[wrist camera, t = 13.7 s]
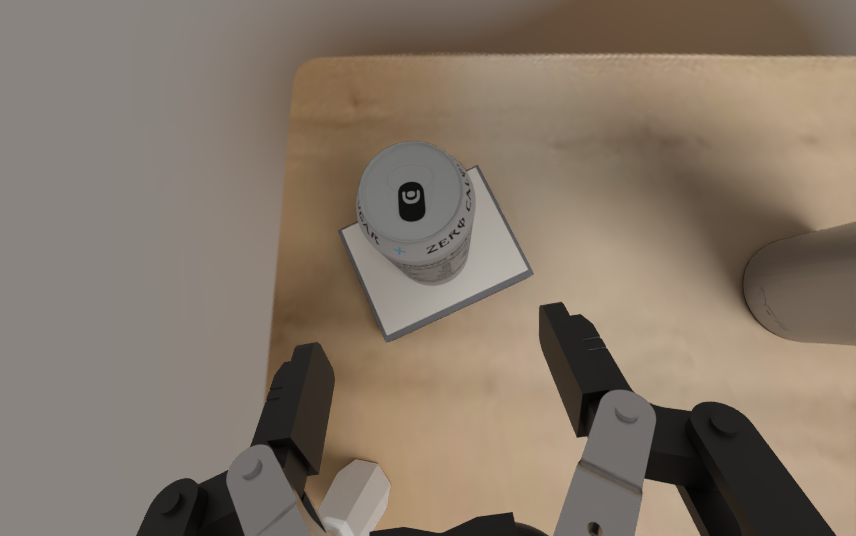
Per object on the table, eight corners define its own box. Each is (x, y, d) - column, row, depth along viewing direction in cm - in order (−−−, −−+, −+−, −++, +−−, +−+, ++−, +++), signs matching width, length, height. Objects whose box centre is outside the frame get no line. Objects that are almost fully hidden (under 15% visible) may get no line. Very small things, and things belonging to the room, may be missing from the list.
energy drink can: (465, 214, 32) (470, 121, 17) (471, 283, 31) (483, 249, 16) (396, 221, 32) (342, 136, 17) (400, 289, 31) (348, 262, 16)
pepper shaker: (328, 464, 34) (267, 532, 23) (385, 452, 34) (350, 514, 23) (339, 527, 33) (281, 628, 22) (397, 515, 33) (367, 611, 22)
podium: (475, 179, 37) (478, 160, 32) (526, 278, 35) (536, 272, 30) (349, 239, 37) (334, 227, 32) (393, 340, 35) (383, 343, 31)
